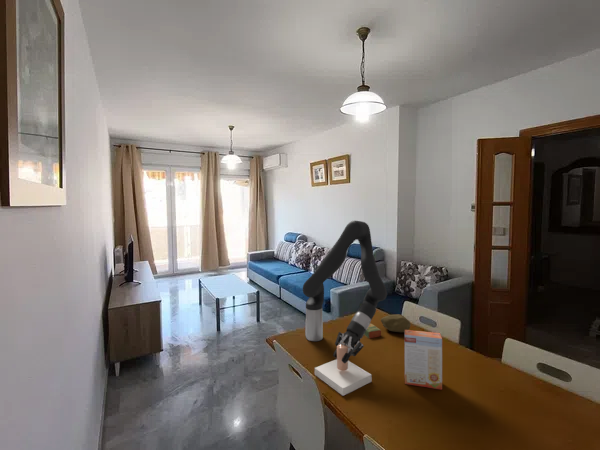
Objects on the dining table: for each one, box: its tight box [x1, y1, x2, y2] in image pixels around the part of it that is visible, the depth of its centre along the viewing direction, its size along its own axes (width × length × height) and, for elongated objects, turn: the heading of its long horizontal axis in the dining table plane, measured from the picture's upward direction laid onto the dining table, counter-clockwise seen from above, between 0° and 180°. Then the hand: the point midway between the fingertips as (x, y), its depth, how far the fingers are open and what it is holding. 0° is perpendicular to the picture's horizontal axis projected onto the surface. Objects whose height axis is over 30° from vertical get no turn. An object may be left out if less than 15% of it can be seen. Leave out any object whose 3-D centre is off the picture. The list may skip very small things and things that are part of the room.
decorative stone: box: [380, 313, 412, 333], centre depth 171 cm, size 17×11×10 cm, turn 56°
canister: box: [336, 344, 349, 371], centre depth 125 cm, size 5×5×9 cm
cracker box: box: [404, 329, 443, 390], centre depth 120 cm, size 14×6×21 cm, turn 71°
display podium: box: [314, 358, 373, 396], centre depth 125 cm, size 18×16×3 cm
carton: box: [363, 322, 382, 339], centre depth 172 cm, size 8×16×4 cm, turn 19°
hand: (339, 359), depth 124 cm, fingers closed on canister, 4 cm apart
